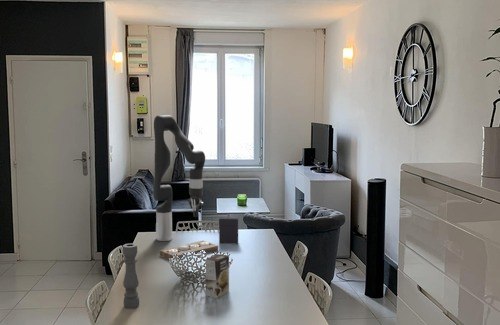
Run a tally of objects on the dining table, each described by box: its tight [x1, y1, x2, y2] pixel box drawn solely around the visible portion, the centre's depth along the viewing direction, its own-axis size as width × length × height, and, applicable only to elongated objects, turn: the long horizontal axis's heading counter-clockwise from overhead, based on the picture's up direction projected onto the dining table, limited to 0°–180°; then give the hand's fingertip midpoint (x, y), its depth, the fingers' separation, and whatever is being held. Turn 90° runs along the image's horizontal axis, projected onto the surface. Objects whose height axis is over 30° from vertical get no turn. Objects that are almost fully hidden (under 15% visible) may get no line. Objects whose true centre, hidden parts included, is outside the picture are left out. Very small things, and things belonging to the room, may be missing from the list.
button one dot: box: [200, 241, 210, 246], centre depth 275 cm, size 5×5×3 cm
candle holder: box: [122, 242, 140, 310], centre depth 196 cm, size 6×6×25 cm
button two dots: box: [169, 249, 178, 254], centre depth 261 cm, size 5×5×3 cm
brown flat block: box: [159, 240, 219, 260], centre depth 268 cm, size 14×29×3 cm, turn 132°
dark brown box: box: [218, 217, 239, 245], centre depth 288 cm, size 11×4×15 cm, turn 84°
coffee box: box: [205, 253, 230, 299], centre depth 210 cm, size 9×6×16 cm
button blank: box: [179, 244, 189, 251], centre depth 266 cm, size 5×5×2 cm
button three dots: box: [190, 245, 199, 249], centre depth 271 cm, size 5×5×3 cm
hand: (195, 216), depth 275 cm, fingers closed
